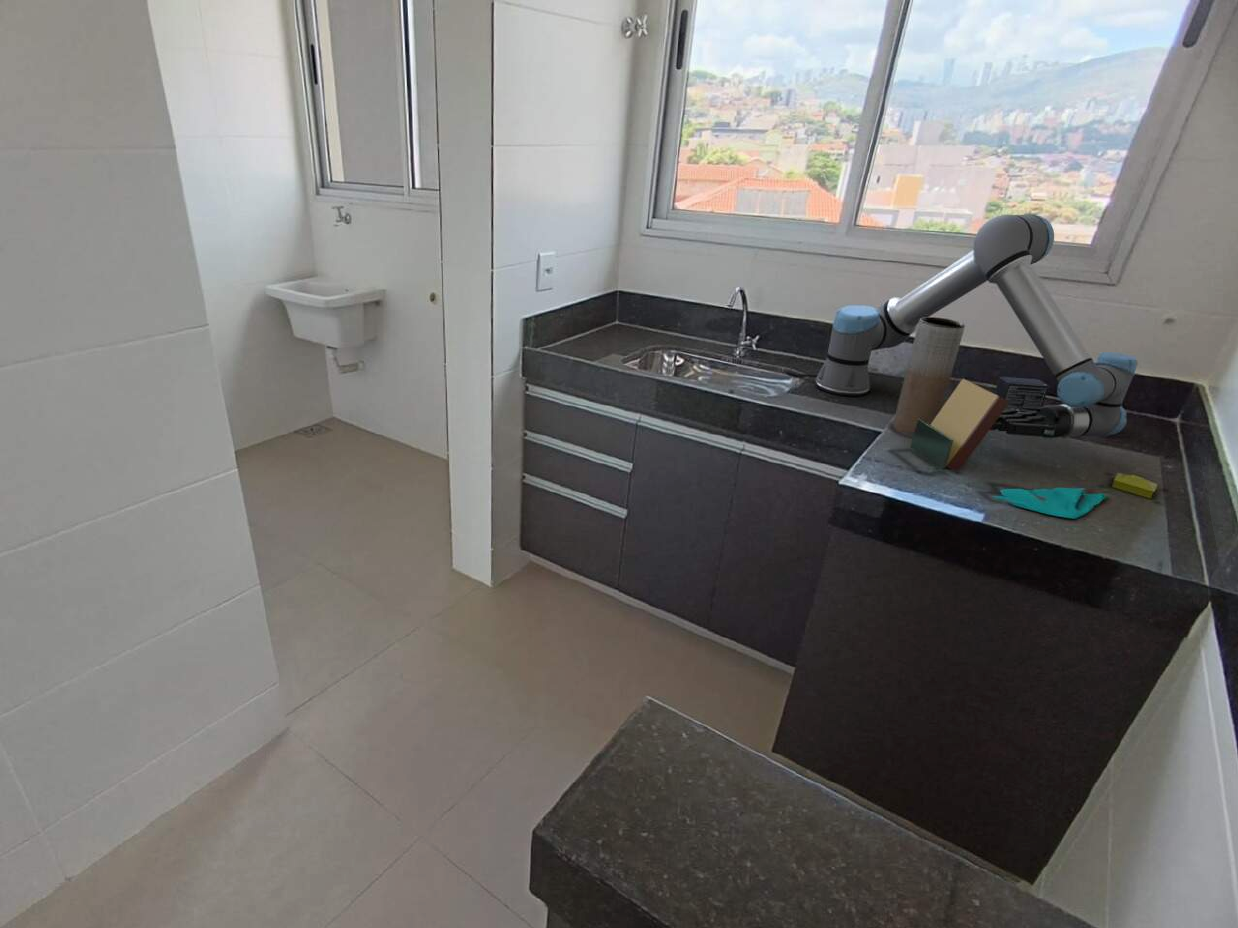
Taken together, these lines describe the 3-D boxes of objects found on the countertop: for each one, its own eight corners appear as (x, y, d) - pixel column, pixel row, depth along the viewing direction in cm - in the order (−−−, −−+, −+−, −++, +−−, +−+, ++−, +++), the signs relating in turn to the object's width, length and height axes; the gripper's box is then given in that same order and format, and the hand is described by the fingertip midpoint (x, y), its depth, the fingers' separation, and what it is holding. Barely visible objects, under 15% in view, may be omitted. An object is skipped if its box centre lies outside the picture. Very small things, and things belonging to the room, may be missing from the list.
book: (947, 468, 144) (999, 396, 138) (915, 445, 154) (962, 378, 149) (957, 472, 145) (1010, 402, 139) (924, 449, 156) (972, 383, 150)
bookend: (921, 474, 143) (931, 440, 140) (891, 450, 154) (899, 419, 150) (943, 473, 144) (953, 439, 141) (911, 450, 155) (920, 418, 151)
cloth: (998, 513, 129) (1002, 503, 128) (972, 481, 141) (975, 471, 140) (1137, 526, 127) (1142, 516, 126) (1098, 493, 139) (1102, 483, 138)
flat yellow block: (1102, 486, 142) (1107, 474, 141) (1109, 474, 149) (1114, 462, 147) (1158, 503, 136) (1164, 491, 135) (1163, 489, 143) (1169, 478, 141)
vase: (907, 439, 161) (937, 327, 149) (884, 423, 169) (911, 316, 157) (942, 438, 163) (974, 327, 151) (918, 422, 171) (947, 316, 159)
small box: (1026, 414, 182) (1039, 378, 177) (1037, 423, 176) (1051, 386, 171) (987, 411, 182) (998, 375, 178) (997, 420, 177) (1009, 382, 172)
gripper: (1076, 447, 148) (985, 451, 143) (1032, 425, 159) (947, 428, 155) (1088, 416, 145) (996, 419, 140) (1043, 396, 156) (956, 398, 151)
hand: (970, 423), depth 147 cm, fingers closed
